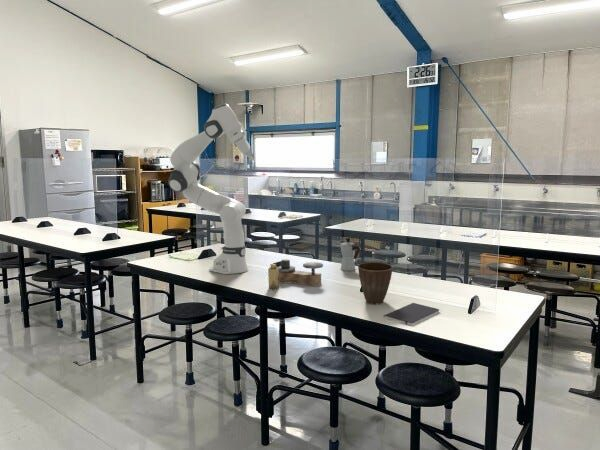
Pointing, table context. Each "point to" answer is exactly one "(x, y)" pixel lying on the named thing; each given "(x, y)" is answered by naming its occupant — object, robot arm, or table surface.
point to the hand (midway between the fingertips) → (252, 159)
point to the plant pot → (375, 281)
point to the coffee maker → (348, 255)
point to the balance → (300, 273)
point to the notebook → (412, 313)
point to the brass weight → (273, 277)
